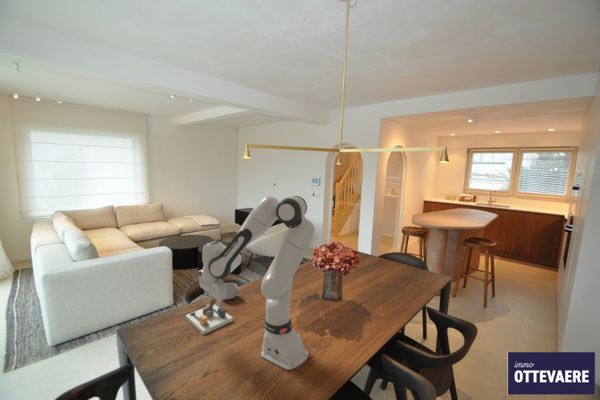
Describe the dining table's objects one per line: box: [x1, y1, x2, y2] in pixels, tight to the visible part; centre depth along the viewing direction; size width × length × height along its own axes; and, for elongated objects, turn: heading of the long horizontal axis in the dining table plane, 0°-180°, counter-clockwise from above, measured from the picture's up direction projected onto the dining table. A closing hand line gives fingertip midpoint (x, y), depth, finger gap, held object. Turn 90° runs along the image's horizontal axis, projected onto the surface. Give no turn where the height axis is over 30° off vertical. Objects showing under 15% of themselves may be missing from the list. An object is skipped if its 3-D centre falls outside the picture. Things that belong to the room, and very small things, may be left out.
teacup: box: [224, 282, 242, 301], centre depth 169 cm, size 14×11×8 cm
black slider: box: [218, 306, 227, 318], centre depth 145 cm, size 4×2×4 cm, turn 47°
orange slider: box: [199, 315, 208, 326], centre depth 137 cm, size 4×2×4 cm, turn 47°
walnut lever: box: [205, 296, 217, 314], centre depth 146 cm, size 3×2×10 cm
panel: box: [185, 303, 234, 336], centre depth 144 cm, size 20×17×6 cm
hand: (212, 301), depth 128 cm, fingers open, 8 cm apart
